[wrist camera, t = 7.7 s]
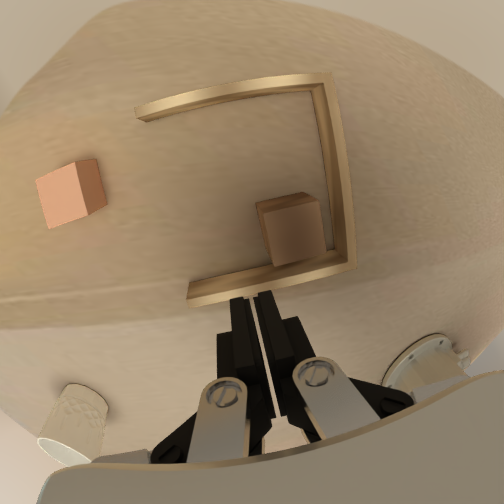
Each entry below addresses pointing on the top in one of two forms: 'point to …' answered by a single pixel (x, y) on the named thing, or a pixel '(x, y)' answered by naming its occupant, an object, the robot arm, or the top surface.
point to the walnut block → (291, 228)
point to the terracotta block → (71, 192)
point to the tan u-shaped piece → (336, 178)
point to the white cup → (75, 426)
